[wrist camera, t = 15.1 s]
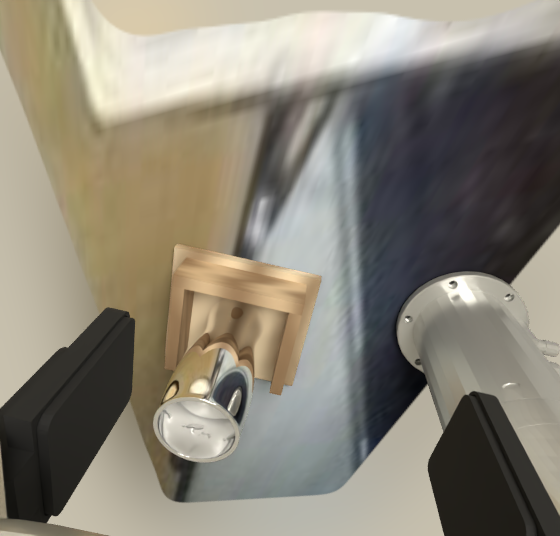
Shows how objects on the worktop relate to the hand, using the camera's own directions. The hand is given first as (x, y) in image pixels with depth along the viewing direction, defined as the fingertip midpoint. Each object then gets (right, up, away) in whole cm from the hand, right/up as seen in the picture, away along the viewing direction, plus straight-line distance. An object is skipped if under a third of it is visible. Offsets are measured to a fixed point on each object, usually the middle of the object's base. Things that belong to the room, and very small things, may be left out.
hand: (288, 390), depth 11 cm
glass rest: (-5, -2, +33) cm, 33 cm away
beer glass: (-5, -2, +32) cm, 33 cm away
